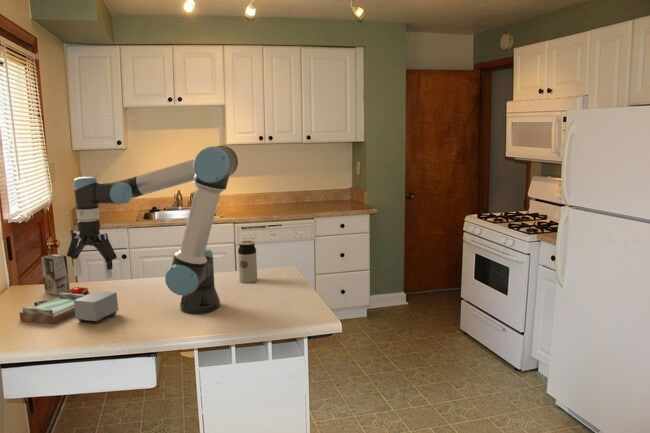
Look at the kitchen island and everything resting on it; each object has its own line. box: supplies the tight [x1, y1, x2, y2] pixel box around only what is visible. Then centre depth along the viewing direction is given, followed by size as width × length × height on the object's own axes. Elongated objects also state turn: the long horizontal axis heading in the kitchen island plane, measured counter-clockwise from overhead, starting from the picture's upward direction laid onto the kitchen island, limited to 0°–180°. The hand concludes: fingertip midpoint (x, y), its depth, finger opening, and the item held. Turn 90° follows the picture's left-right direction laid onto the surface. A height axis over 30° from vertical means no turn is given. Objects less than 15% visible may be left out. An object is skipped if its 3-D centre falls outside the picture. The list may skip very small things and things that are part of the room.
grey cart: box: [74, 290, 119, 324], centre depth 205 cm, size 9×12×8 cm
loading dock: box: [18, 293, 85, 325], centre depth 211 cm, size 16×19×5 cm
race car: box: [66, 286, 90, 295], centre depth 231 cm, size 13×5×4 cm, turn 162°
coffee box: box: [40, 253, 71, 296], centre depth 237 cm, size 9×6×16 cm
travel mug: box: [237, 239, 258, 284], centre depth 249 cm, size 8×8×18 cm
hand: (93, 276), depth 203 cm, fingers open, 13 cm apart
